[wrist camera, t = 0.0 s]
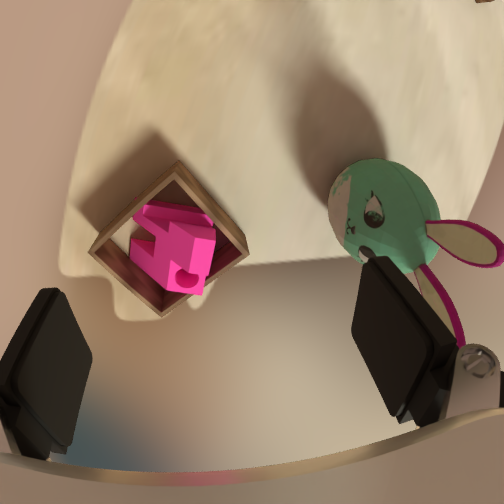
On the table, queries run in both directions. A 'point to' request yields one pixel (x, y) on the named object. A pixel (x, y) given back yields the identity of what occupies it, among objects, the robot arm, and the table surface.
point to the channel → (480, 0)
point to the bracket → (175, 245)
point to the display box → (142, 282)
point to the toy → (406, 229)
